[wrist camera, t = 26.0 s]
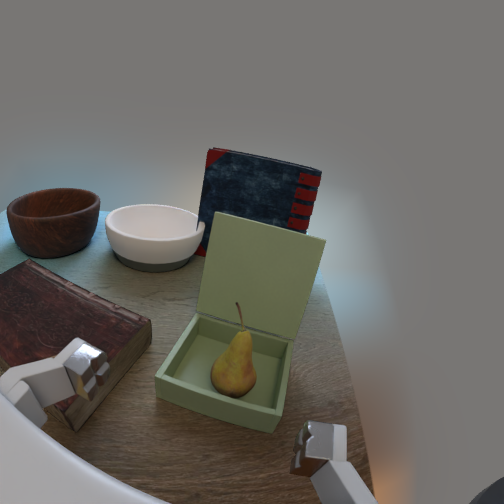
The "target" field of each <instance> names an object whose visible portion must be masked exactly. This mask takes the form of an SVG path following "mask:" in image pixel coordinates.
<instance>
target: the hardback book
mask: <svg viewBox="0 0 504 504" xmlns="http://www.w3.org/2000/svg"><path fill="white" fill-rule="evenodd" d="M75 338H80V339H82V340H84V341H85V342H87V343H89V344H91V345H92V346H94V347H96V348H98V349H100V350H102V351H104V352H106V353H107V357H108V359H107V360H106V361H107V363H108V364H109V366H110V376H109V378H108V380H107V382H106V383H105V384H104V385H102V386H99V392H98V393H97V395H96V396H95V397H94V399H93V400H92V401H91V402H90V401H88V400H87V399H85V398H83V397H81V396H80V395H78V394H76V393H75V395H73V396H70V397H68V398H66V399H63V400H61V401H59V402H56V403H54V404H52V405H49V406H47V407H45V409H46V410H47V411H48V412H50V413H51V414H52V415H53V416H55V417H56V418H57V419H58V420H60V421H61V422H62V423H64V424H65V425H66V426H68V427H69V428H70V429H72V430H73V431H75V432H77V431H78V430H79V429H80V427H81V426H82V425H83V424H84V423H85V421H86V420H87V419H88V418H89V416H90V415H91V414H92V413H93V412H94V410H95V409H96V408H97V407H98V406H99V404H100V403H101V402H102V401H103V400H104V398H105V397H106V396H107V395H108V394H109V392H110V391H111V390H112V389H113V388H114V386H115V385H116V384H117V383H118V382H119V380H120V379H121V378H122V377H123V376H124V374H125V373H126V372H127V371H128V370H129V369H130V367H131V366H132V365H133V364H134V363H135V361H136V360H137V359H138V358H139V357H140V356H141V354H142V353H143V352H144V351H145V350H146V349H147V347H148V346H149V345H150V344H151V339H152V327H151V321H150V319H148V318H146V317H143V316H141V315H139V314H136V313H134V312H132V311H130V310H127V309H125V308H123V307H121V306H119V305H116V304H114V303H112V302H110V301H108V300H106V299H104V298H102V297H100V296H98V295H95V294H93V293H91V292H89V291H87V290H85V289H83V288H81V287H80V286H78V285H76V284H74V283H72V282H70V281H68V280H66V279H64V278H62V277H61V276H59V275H57V274H55V273H53V272H52V271H50V270H48V269H46V268H44V267H43V266H41V265H39V264H38V263H36V262H34V261H32V260H31V259H28V260H26V261H24V262H22V263H20V264H18V265H16V266H15V267H13V268H11V269H9V270H7V271H5V272H4V273H2V274H0V367H1V368H2V369H3V370H4V371H5V372H6V371H7V370H8V369H9V368H12V367H16V366H20V365H24V364H28V363H32V362H36V361H40V360H44V359H47V358H51V357H52V358H53V359H54V358H55V357H56V356H57V355H58V354H59V353H60V352H61V351H62V350H63V349H64V348H65V347H66V346H67V345H68V344H69V343H70V342H71V341H72V340H74V339H75Z"/></svg>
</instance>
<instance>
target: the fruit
mask: <svg viewBox="0 0 504 504" xmlns="http://www.w3.org/2000/svg"><path fill="white" fill-rule="evenodd" d="M235 304H236V306H237V308H238V312H239V316H240V319H241V325H242V331H240V332H238V333H237V335H236V336H235V337H234V338H233V339H232V341H231V343H230V345H229V346H228V348H227V349H226V351H225V352H224V353H222V354H221V355H220V356H219V357H218V358H217V359H216V360H215V362H214V364H213V366H212V368H211V374H210V378H211V383H212V385H213V387H214V388H215V389H216V390H217V391H218V392H219V393H220V394H222V395H224V396H227V397H230V398H234V399H236V398H240V397H242V396H244V395H246V394H247V393H248V392H249V391H250V390H251V389H252V388H253V387H254V385H255V383H256V380H257V375H256V371H255V368H254V366H253V362H252V337H251V335H250V332H249V331H248V330H246V329H245V328H244V324H243V320H242V314H241V309H240V306H239V304H238V302H236V303H235Z"/></svg>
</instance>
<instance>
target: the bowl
mask: <svg viewBox="0 0 504 504" xmlns="http://www.w3.org/2000/svg"><path fill="white" fill-rule="evenodd" d="M197 221H198V216H197V215H195V214H194V213H192V212H189V211H187V210H183V209H180V208H176V207H171V206H165V205H155V204H141V205H132V206H126V207H122V208H119V209H116V210H114V211H112V212H111V213H109V214H108V215H107V217H106V219H105V227H106V235H107V237H108V240H109V242H110V245H111V247H112V249H113V251H114V252H115V254H116V255H117V257H118V258H119V260H120V261H121V262H122V263H123V264H125V265H126V266H128V267H130V268H133V269H136V270H140V271H146V272H165V271H171V270H174V269H177V268H179V267H182V266H183V265H184V264H186V262H187V261H188V260H189V258H190V257H191V256H192V255H193V254H194V252H195V251H196V250H197V248H198V246H199V244H200V242H201V241H202V237H203V233H204V229H205V224H204V222H199V225H198V229H197V231H196V228H197Z"/></svg>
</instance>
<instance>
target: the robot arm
mask: <svg viewBox="0 0 504 504" xmlns="http://www.w3.org/2000/svg"><path fill="white" fill-rule="evenodd" d="M107 359H108V357H107V353H106V352H104V351H102V350H100V349H98V348H96V347H94V346H92V345H91V344H89V343H87V342H85V341H84V340H82V339H80V338H75V339H74V340H72V341H71V342H70V343H69V344H68V345H67V346H66V347H65V348H64V349H63V350H62V351H61V352H60V353H59V354H58V355H57V356H56V357H55V358H54V359H53V358H52V357H51V358H47V359H44V360H40V361H36V362H32V363H28V364H24V365H20V366H16V367H12V368H9V369H8V370H7V371H6V372H5V373H4V374H3V375H2V376H1V377H0V504H171V503H168V502H165V501H163V500H160V499H158V498H156V497H153V496H151V495H149V494H146V493H144V492H142V491H140V490H137V489H135V488H133V487H131V486H129V485H127V484H125V483H123V482H121V481H119V480H117V479H115V478H114V477H112V476H110V475H108V474H106V473H104V472H103V471H101V470H99V469H97V468H96V467H94V466H92V465H91V464H89V463H88V462H86V461H84V460H83V459H81V458H80V457H78V456H77V455H75V454H74V453H72V452H71V451H69V450H68V449H66V448H65V447H63V446H62V445H61V444H59V443H58V442H57V441H55V440H54V439H52V438H51V437H50V436H49V435H47V434H46V433H45V432H43V431H42V430H41V427H42V426H43V425H44V423H45V422H46V421H47V420H48V418H47V415H46V414H45V412H44V411H43V409H42V408H45V407H47V406H49V405H52V404H54V403H56V402H59V401H61V400H63V399H66V398H68V397H70V396H73V395H75V393H76V394H78V395H80V396H81V397H83V398H85V399H87V400H88V401H90V402H91V401H92V400H93V399H94V397H95V396H96V395H97V393H98V392H99V386H102V385H104V384H105V383H106V382H107V380H108V378H109V376H110V366H109V364H108V363H107V361H106V360H107ZM293 451H294V453H295V454H296V455H295V456H294V457H293V458H292V460H291V466H290V472H289V474H294V475H300V476H306V477H310V479H311V482H312V484H313V486H314V488H315V490H316V492H317V494H318V496H319V499H320V501H321V503H322V504H378V502H377V501H376V499H375V498H374V496H373V495H372V493H371V492H370V491H369V489H368V488H367V486H366V485H365V483H364V482H363V480H362V479H361V477H360V476H359V475H358V473H357V472H356V470H355V469H354V467H353V466H352V464H351V463H350V462H347V428H346V426H344V425H337V424H332V423H325V422H318V421H311V420H307V421H306V422H305V423H304V426H303V429H301V430H300V431H299V432H298V434H297V436H296V439H295V443H294V447H293Z"/></svg>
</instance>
